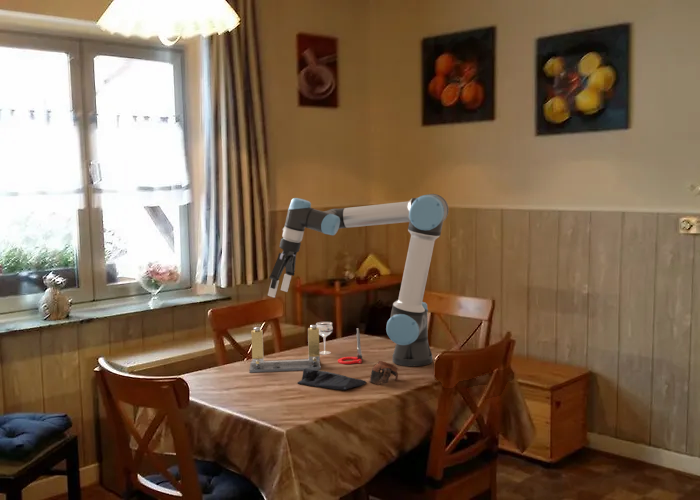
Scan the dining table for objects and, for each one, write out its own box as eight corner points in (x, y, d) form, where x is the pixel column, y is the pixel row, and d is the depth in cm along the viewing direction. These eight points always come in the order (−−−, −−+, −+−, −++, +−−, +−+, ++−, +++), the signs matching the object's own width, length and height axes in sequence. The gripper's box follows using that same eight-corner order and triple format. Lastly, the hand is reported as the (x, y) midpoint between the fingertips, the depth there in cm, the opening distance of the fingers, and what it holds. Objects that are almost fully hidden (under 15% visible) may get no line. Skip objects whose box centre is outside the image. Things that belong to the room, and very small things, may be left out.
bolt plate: (318, 360, 291) (317, 321, 289) (320, 369, 279) (319, 328, 277) (250, 363, 288) (249, 324, 287) (249, 372, 277) (247, 331, 275)
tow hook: (337, 365, 285) (361, 364, 285) (334, 332, 284) (359, 330, 283) (338, 360, 294) (362, 358, 293) (336, 327, 292) (360, 326, 292)
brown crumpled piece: (364, 380, 266) (373, 358, 267) (388, 391, 267) (397, 369, 269) (372, 381, 254) (381, 358, 256) (397, 392, 255) (406, 369, 257)
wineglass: (318, 350, 307) (317, 321, 305) (334, 350, 306) (333, 321, 304) (315, 354, 300) (314, 325, 299) (331, 355, 299) (331, 325, 298)
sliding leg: (263, 360, 285) (262, 326, 284) (263, 365, 278) (261, 330, 276) (252, 361, 285) (251, 326, 283) (252, 366, 278) (250, 330, 276)
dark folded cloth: (342, 395, 249) (342, 381, 249) (293, 384, 263) (293, 371, 262) (370, 384, 261) (370, 370, 260) (321, 374, 275) (321, 361, 274)
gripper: (293, 234, 293) (280, 285, 297) (270, 239, 269) (256, 295, 273) (311, 239, 291) (297, 291, 295) (289, 245, 267) (275, 302, 271)
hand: (277, 293), depth 284 cm, fingers open, 13 cm apart
